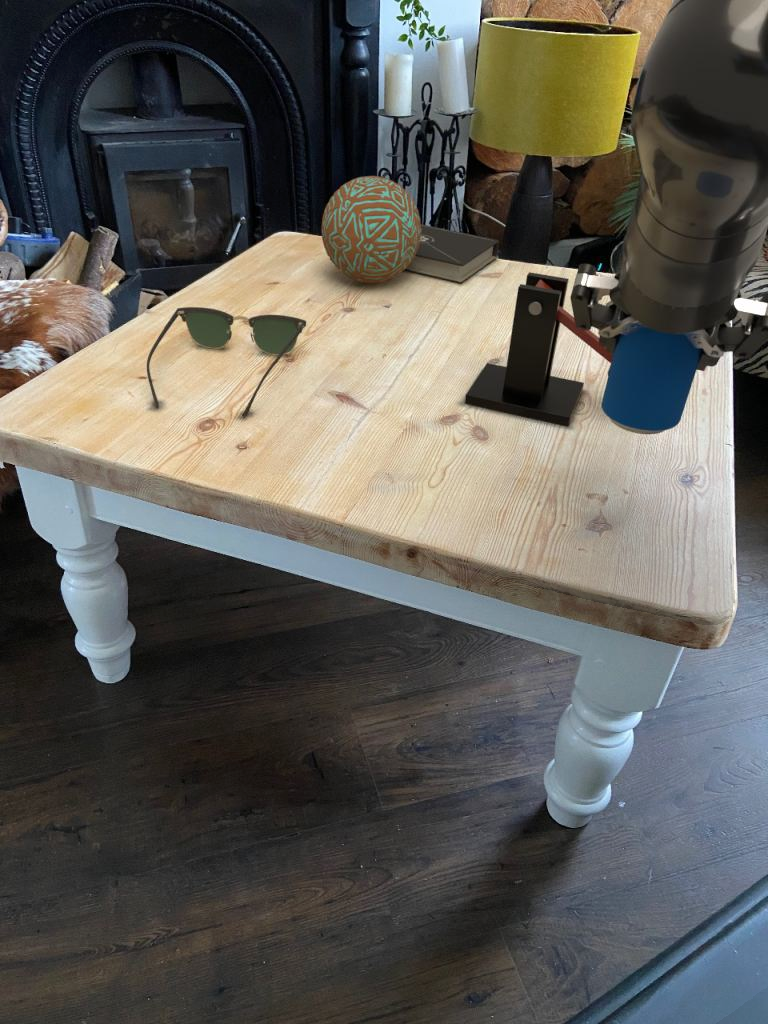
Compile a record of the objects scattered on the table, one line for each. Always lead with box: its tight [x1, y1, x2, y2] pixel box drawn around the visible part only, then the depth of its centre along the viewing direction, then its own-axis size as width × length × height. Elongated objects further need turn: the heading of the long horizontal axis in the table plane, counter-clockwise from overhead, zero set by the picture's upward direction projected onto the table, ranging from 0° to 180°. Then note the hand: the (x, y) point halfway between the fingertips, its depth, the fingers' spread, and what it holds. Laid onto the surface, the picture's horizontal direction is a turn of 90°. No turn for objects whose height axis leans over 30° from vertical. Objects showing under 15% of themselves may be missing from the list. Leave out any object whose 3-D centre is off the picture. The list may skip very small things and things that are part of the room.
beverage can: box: [601, 328, 703, 435], centre depth 59 cm, size 6×6×12 cm
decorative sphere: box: [321, 175, 422, 284], centre depth 111 cm, size 15×15×15 cm
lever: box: [535, 279, 614, 376], centre depth 80 cm, size 13×6×2 cm, turn 68°
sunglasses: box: [146, 306, 307, 417], centre depth 87 cm, size 16×17×5 cm
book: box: [404, 223, 500, 284], centre depth 124 cm, size 22×15×3 cm
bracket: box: [464, 271, 585, 427], centre depth 83 cm, size 12×9×14 cm
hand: (656, 350), depth 61 cm, fingers closed on beverage can, 6 cm apart
